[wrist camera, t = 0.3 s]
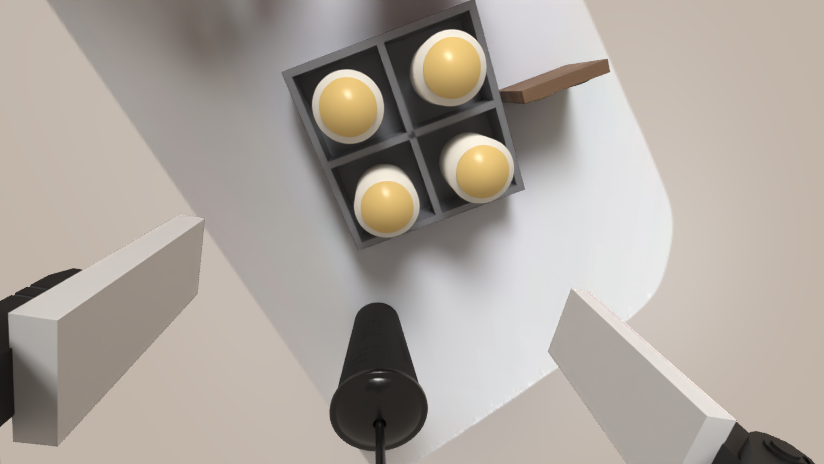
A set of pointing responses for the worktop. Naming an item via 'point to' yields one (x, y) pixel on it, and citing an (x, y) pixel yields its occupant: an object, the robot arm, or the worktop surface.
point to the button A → (348, 106)
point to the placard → (553, 81)
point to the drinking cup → (378, 386)
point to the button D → (476, 167)
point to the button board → (403, 119)
